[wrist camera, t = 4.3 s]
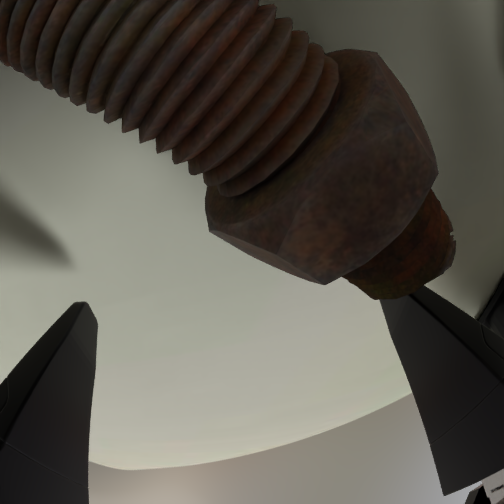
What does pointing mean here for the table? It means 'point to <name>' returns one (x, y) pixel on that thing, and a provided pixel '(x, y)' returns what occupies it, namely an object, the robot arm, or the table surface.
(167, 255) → the table surface
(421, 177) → the bolt
